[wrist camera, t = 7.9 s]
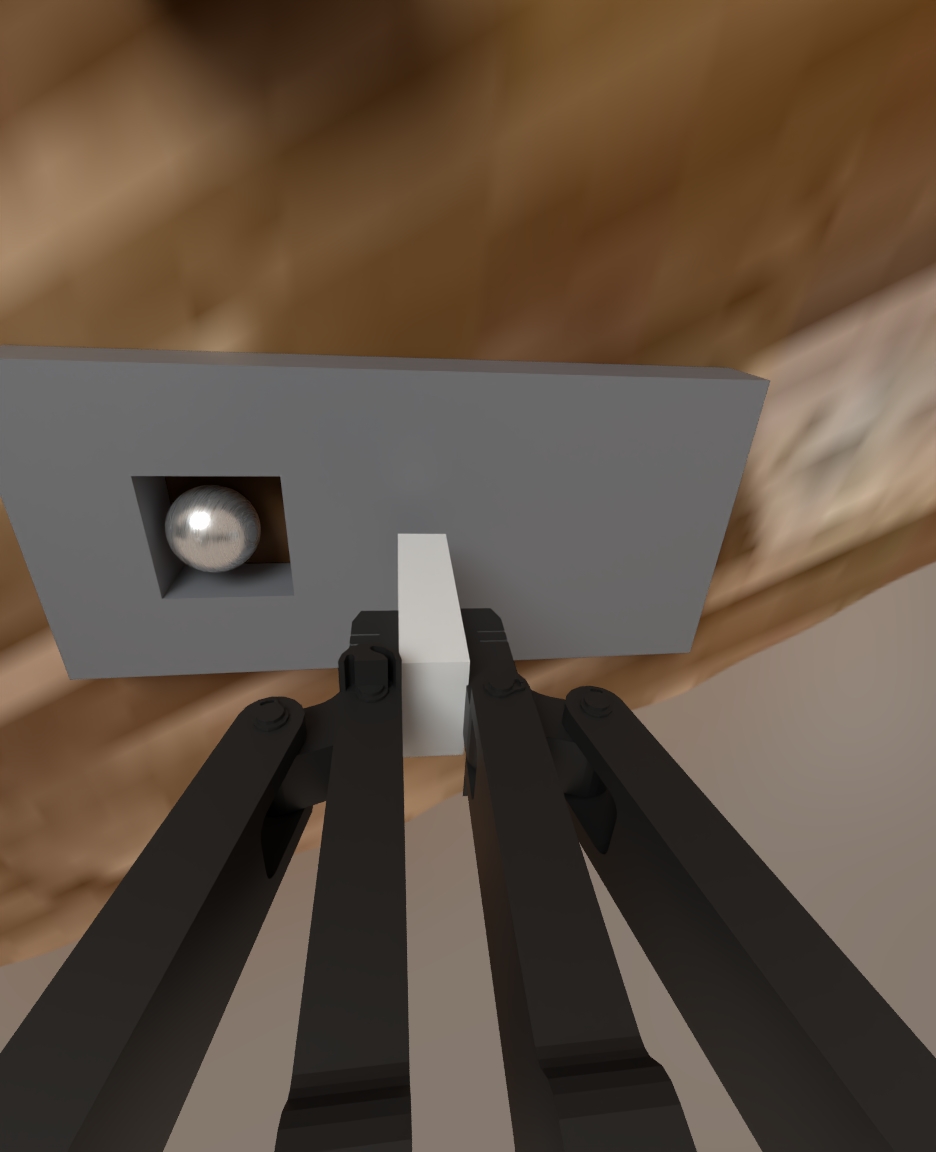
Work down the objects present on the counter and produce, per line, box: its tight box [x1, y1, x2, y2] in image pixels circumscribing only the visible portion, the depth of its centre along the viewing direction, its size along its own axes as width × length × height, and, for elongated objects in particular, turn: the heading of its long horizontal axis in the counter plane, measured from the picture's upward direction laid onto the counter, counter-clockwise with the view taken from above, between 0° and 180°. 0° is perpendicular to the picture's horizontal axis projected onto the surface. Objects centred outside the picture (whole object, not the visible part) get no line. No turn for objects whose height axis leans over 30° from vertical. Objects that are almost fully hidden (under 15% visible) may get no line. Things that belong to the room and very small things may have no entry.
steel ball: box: [165, 485, 261, 572], centre depth 19 cm, size 3×3×3 cm
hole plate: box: [0, 345, 770, 680], centre depth 20 cm, size 24×11×2 cm, turn 87°
